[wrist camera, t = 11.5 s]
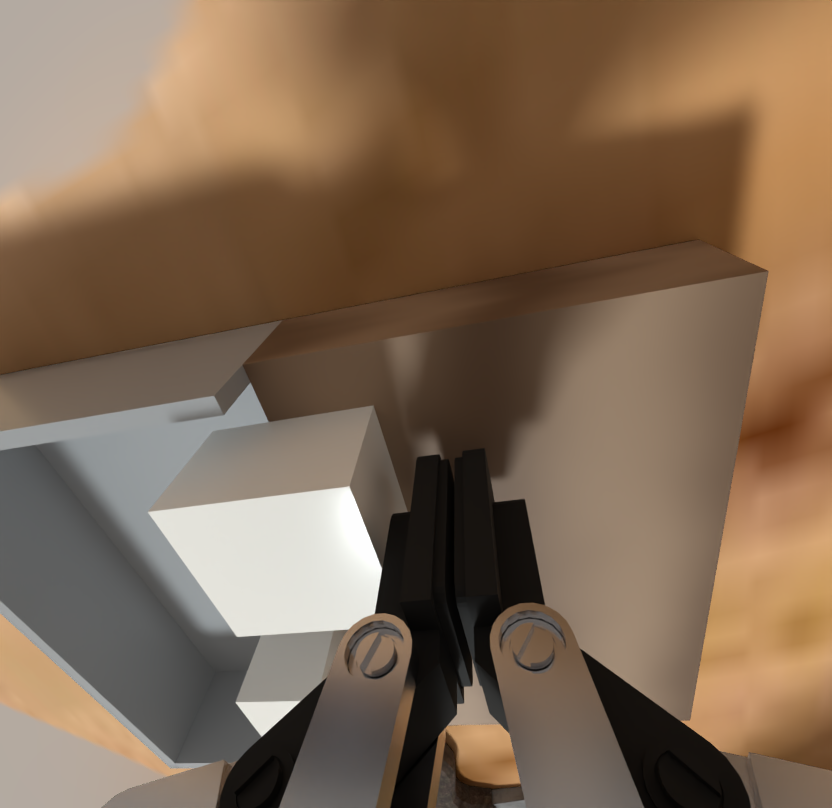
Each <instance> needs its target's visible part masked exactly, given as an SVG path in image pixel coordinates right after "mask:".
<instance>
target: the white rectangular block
mask: <svg viewBox="0 0 832 808" xmlns="http://www.w3.org/2000/svg"><path fill="white" fill-rule="evenodd" d="M403 512H408V511H407V508H406V505H405V502H404V499H403V496H402V493H401V489H400V486H399V483H398V480H397V477H396V474H395V471H394V468H393V465H392V461H391V458H390V455H389V452H388V449H387V446H386V443H385V440H384V436H383V433H382V430H381V427H380V424H379V421H378V418H377V415H376V412H375V408H374V405H373V406H366V407H360V408H354V409H348V410H341V411H335V412H329V413H323V414H316V415H310V416H304V417H297V418H291V419H285V420H279V421H272V422H266V423H260V424H254V425H247V426H241V427H235V428H228V429H222V430H216V431H213V432H212V433H211V434H210V435H209V437H208V438H207V439H206V440H205V441H204V443H203V444H202V445H201V446H200V448H199V449H198V450H197V451H196V453H195V454H194V455H193V456H192V458H191V459H190V460H189V461H188V463H187V464H186V465H185V466H184V468H183V469H182V470H181V471H180V473H179V474H178V475H177V476H176V478H175V479H174V480H173V481H172V482H171V484H170V485H169V486H168V487H167V489H166V490H165V491H164V492H163V494H162V495H161V496H160V497H159V499H158V500H157V501H156V502H155V504H154V505H153V506H152V507H151V509H150V510H149V511H148V513H149V515H150V516H151V517H152V519H153V520H154V522H155V523H156V524H157V526H158V527H159V529H160V530H161V531H162V533H163V534H164V536H165V537H166V538H167V540H168V541H169V543H170V544H171V545H172V547H173V548H174V550H175V551H176V552H177V554H178V555H179V557H180V558H181V559H182V561H183V562H184V564H185V565H186V566H187V568H188V569H189V571H190V572H191V573H192V575H193V576H194V577H195V579H196V580H197V582H198V583H199V584H200V586H201V587H202V589H203V590H204V591H205V593H206V594H207V596H208V597H209V598H210V600H211V601H212V603H213V604H214V605H215V607H216V608H217V610H218V611H219V612H220V614H221V615H222V617H223V618H224V619H225V621H226V622H227V624H228V625H229V626H230V628H231V629H232V631H233V632H234V633H235V635H236V636H237V637H244V636H259V635H274V634H289V633H304V632H319V631H334V630H349V629H350V628H351V627H352V625H354V624H355V623H357V622H358V621H359V620H361V619H362V618H365V617H367V616H370V615H373V614H375V609H376V603H377V597H378V591H379V585H380V579H381V573H382V567H383V561H384V555H385V549H386V543H387V537H388V531H389V525H390V520H391V516H392V515H393V514H394V513H403Z"/></svg>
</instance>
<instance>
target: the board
mask: <svg viewBox="0 0 832 808" xmlns="http://www.w3.org/2000/svg"><path fill="white" fill-rule="evenodd" d="M767 277H768V271H767V270H765V269H763V268H761V267H758V266H756V265H754V264H752V263H749V262H747V261H745V260H743V259H741V258H738V257H736V256H734V255H732V254H730V253H727V252H725V251H723V250H721V249H719V248H716V247H714V246H712V245H710V244H708V243H705V242H703V241H701V240H694V241H689V242H684V243H679V244H673V245H668V246H663V247H658V248H653V249H648V250H642V251H637V252H632V253H627V254H622V255H617V256H611V257H606V258H601V259H596V260H591V261H586V262H580V263H575V264H570V265H565V266H560V267H555V268H549V269H544V270H539V271H534V272H529V273H524V274H518V275H513V276H508V277H503V278H498V279H493V280H487V281H482V282H477V283H472V284H467V285H462V286H456V287H451V288H446V289H441V290H436V291H431V292H425V293H420V294H415V295H410V296H405V297H400V298H394V299H389V300H384V301H379V302H374V303H369V304H363V305H358V306H353V307H348V308H343V309H338V310H332V311H327V312H322V313H317V314H312V315H307V316H302V317H296V318H291V319H286V320H282V322H281V323H280V324H279V325H278V326H277V327H276V328H275V329H274V330H273V331H272V333H271V334H270V335H269V336H268V337H267V338H266V339H265V340H264V341H263V342H262V344H261V345H260V346H259V347H258V348H257V349H256V350H255V351H254V352H253V353H252V355H251V356H250V357H249V358H248V359H247V360H246V361H245V362H244V363H243V364H242V365H243V367H244V369H245V372H246V374H247V376H248V378H249V380H250V383H251V385H252V387H253V389H254V391H255V393H256V396H257V398H258V400H259V402H260V404H261V407H262V409H263V411H264V413H265V415H266V417H267V420H268V422H272V421H279V420H285V419H291V418H297V417H304V416H310V415H316V414H323V413H329V412H335V411H341V410H348V409H354V408H360V407H366V406H373V405H374V408H375V412H376V415H377V418H378V421H379V424H380V427H381V430H382V433H383V436H384V440H385V443H386V446H387V449H388V452H389V455H390V458H391V461H392V465H393V468H394V471H395V474H396V477H397V480H398V483H399V486H400V489H401V493H402V496H403V499H404V502H405V505H406V508H407V511H408V512H410V510H411V501H412V493H413V484H414V476H415V467H416V460H417V457H421V456H428V455H436V454H439V455H440V457H441V460H443V459H449V461H450V465H451V470H452V474H453V478H454V460H455V458H458V457H462V451H465V450H473V449H480V448H485V451H486V457H487V462H488V467H489V473H490V478H491V484H492V489H493V495H494V500H495V502H501V501H509V500H518V499H525V502H526V507H527V512H528V518H529V523H530V528H531V533H532V539H533V544H534V549H535V554H536V560H537V565H538V570H539V575H540V581H541V586H542V591H543V597H544V602H545V605H546V606H547V607H549V608H551V609H553V610H555V611H557V612H558V613H559V614H560V615H561V616H562V617H563V618H564V619H566V621H567V622H568V624H569V626H570V627H571V629H572V631H573V633H574V635H575V638H576V640H577V643H578V645H579V648H580V649H582V650H583V651H585V652H586V653H587V654H589V655H590V656H591V657H593V658H594V659H596V660H597V661H598V662H600V663H601V664H602V665H604V666H605V667H607V668H608V669H609V670H611V671H612V672H613V673H615V674H616V675H618V676H619V677H620V678H622V679H623V680H624V681H626V682H627V683H629V684H630V685H631V686H633V687H634V688H635V689H637V690H638V691H640V692H641V693H642V694H644V695H645V696H646V697H648V698H649V699H651V700H652V701H653V702H655V703H656V704H657V705H659V706H660V707H662V708H663V709H664V710H666V711H667V712H668V713H670V714H671V715H673V716H674V717H675V718H677V719H678V720H690V718H691V712H692V706H693V700H694V695H695V689H696V683H697V678H698V672H699V666H700V660H701V655H702V649H703V643H704V637H705V632H706V626H707V620H708V615H709V609H710V603H711V597H712V592H713V586H714V580H715V575H716V569H717V563H718V557H719V552H720V546H721V540H722V534H723V529H724V523H725V517H726V512H727V506H728V500H729V494H730V489H731V483H732V477H733V471H734V466H735V460H736V454H737V449H738V443H739V437H740V431H741V426H742V420H743V414H744V409H745V403H746V397H747V391H748V386H749V380H750V374H751V368H752V363H753V357H754V351H755V346H756V340H757V334H758V328H759V323H760V317H761V311H762V306H763V300H764V294H765V288H766V283H767ZM472 665H473V686H470V687H464V704H457V715H456V716H455V717H454V719H453V720H452V721H451V722H450V723H449V724H448V725H489V724H500V723H499V722H498V721H497V720H496V719H495V718H494V717H493V716H492V715H491V714H490V713H489V710H488V706H487V703H486V699H485V696H484V692H483V688H482V686H480V685H479V681H478V678H477V674H476V671H475V667H474V664H473V660H472Z"/></svg>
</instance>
